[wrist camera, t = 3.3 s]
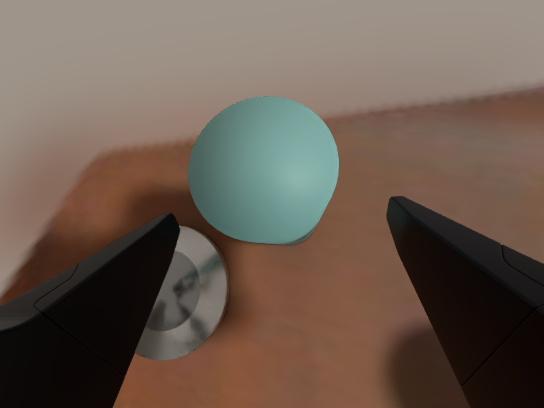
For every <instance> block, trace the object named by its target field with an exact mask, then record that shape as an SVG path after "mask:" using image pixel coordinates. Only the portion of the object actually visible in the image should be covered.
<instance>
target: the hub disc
mask: <svg viewBox="0 0 544 408" xmlns="http://www.w3.org/2000/svg"><path fill="white" fill-rule="evenodd" d="M179 227H180V234H179V238H178V241H177V245H176V248H175V252H174V255H173V259H172V262H171V264H170V267H169V270H168V272H167V275H166V277H165V279H164V282H163V284H162V287H161V289H160V292H159V294H158V297H157V299H156V302H155V304H154V307H153V309H152V312H151V314H150V316H149V319H148V321H147V324H146V326H145V329H144V331H143V334H142V336H141V339H140V341H139V344H138V346H137V348H136V351H135V353H136V354H138V355H140V356H142V357H145V358H148V359H152V360H161V361H162V360H172V359H176V358H180V357H182V356H184V355H187V354H189V353H190V352H192V351H194V350H195V349H196V348H198V347H199V346H200V345H201V344H202V343H203V342H205V341H206V340H207V339H208V338H209V337H210V336H211V335H212V334H213V332H214V331H215V330H216V328H217V327H218V326H219V324H220V322H221V320H222V319H223V316H224V314H225V311H226V309H227V305H228V301H229V295H230V276H229V271H228V267H227V264H226V261H225V258H224V256H223V254H222V252H221V251H220V249H219V248H218V246H217V245H216V244H215V243H214V242H213V241H212V240H211V239H210V238H209V237H208V236H207V235H205V234H203V233H202V232H200V231H198V230H196V229H193V228H190V227H186V226H180V225H179Z"/></svg>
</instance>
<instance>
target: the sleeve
mask: <svg viewBox="0 0 544 408" xmlns="http://www.w3.org/2000/svg"><path fill="white" fill-rule="evenodd" d="M338 170H339V160H338V152H337V147H336V144H335V141H334V138H333V136H332V134H331V132H330V131H329V129H328V127H327V126H326V125H325V123H324V122H323V121H322V120H321V119H320V118H319V117H318V115H317V114H315V113H314V112H313V111H311V110H310V109H309V108H307V107H305V106H304V105H302V104H300V103H297V102H294V101H293V100H289V99H285V98H280V97H268V96H264V97H256V98H250V99H246V100H244V101H240V102H238V103H236V104H233V105H231V106H229V107H228V108H226V109H224V110H223V111H221V112H220V113H219V114H218V115H216V116H215V117H214V118H213V119H212V120H211V121H210V122H209V123H208V124H207V125H206V126H205V128H204V129H203V130H202V132H201V133H200V135H199V136H198V138H197V140H196V142H195V144H194V146H193V149H192V152H191V155H190V160H189V167H188V181H189V187H190V192H191V195H192V198H193V201H194V203H195V205H196V207H197V209H198V210H199V212H200V213H201V215H202V216H203V217H204V218H205V219H206V220H207V221H208V223H209V224H211V225H212V226H213V227H214V228H216V229H217V230H219V231H220V232H222V233H223V234H225V235H227V236H230V237H232V238H235V239H238V240H242V241H248V242H256V243H267V244H278V245H296V244H299V243H302V242H304V241H305V240H306V239H308V238H309V237H310V236H311V234H312V233H313V231H314V229H315V227H316V225H317V224H318V222H319V220H320V218H321V216H322V214H323V212H324V210H325V208H326V206H327V204H328V202H329V201H330V199H331V197H332V194H333V192H334V189H335V187H336V182H337V178H338Z"/></svg>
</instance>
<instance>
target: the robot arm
mask: <svg viewBox="0 0 544 408" xmlns="http://www.w3.org/2000/svg"><path fill="white" fill-rule="evenodd" d="M386 216H387V221H388V224H389V228H390V231H391V234H392V237H393V240H394V243H395V246H396V249H397V252H398V254H399V256H400V259H401V261H402V263H403V265H404V267H405V269H406V271H407V274H408V276H409V278H410V280H411V282H412V284H413V286H414V288H415V291H416V293H417V295H418V297H419V299H420V301H421V303H422V305H423V307H424V310H425V312H426V314H427V316H428V318H429V320H430V322H431V324H432V327H433V329H434V331H435V333H436V335H437V337H438V339H439V341H440V344H441V346H442V348H443V350H444V352H445V354H446V356H447V358H448V360H449V363H450V365H451V367H452V369H453V371H454V373H455V375H456V377H457V380H458V382H459V384H460V386H462V391H463V393H464V395H465V397H466V399H467V401H468V403H469V405H470V408H544V264H543V263H541V262H539V261H536V260H534V259H532V258H530V257H528V256H526V255H524V254H521V253H519V252H517V251H515V250H513V249H511V248H509V247H507V246H505V245H501V244H500V243H499V242H496V241H494V240H492V239H490V238H488V237H486V236H484V235H482V234H480V233H478V232H476V231H474V230H472V229H470V228H467V227H465V226H463V225H461V224H459V223H457V222H455V221H453V220H451V219H449V218H447V217H445V216H443V215H441V214H438V213H436V212H434V211H432V210H430V209H428V208H426V207H424V206H422V205H420V204H418V203H416V202H414V201H412V200H409V199H407V198H405V197H403V196H395V197H391V198H390V199H389V203H388V209H387V214H386ZM179 234H180V227H179V224H178V222H177V220H176V218H175V216H174V215H173V214H172V213H163V214H161V215H159V216H157V217H156V218H154V219H152V220H150V221H149V222H147V223H145V224H144V225H142V226H140V227H139V228H137V229H135V230H133V231H132V232H130V233H128V234H127V235H125V236H123V237H122V238H120V239H118V240H116V241H115V242H113V243H111V244H110V245H108V246H106V247H105V248H103V249H101V250H100V251H98V252H96V253H94V254H93V255H91V256H89V257H88V258H86V259H84V260H83V261H81V262H80V263H77V264H76V265H74V266H72V267H71V268H69V269H67V270H65V271H64V272H62V273H60V274H58V275H57V276H55V277H53V278H52V279H50V280H48V281H46V282H44V283H42V284H41V285H39V286H37V287H35V288H33V289H31V290H30V291H28V292H26V293H24V294H22V295H20V296H18V297H17V298H15V299H13V300H11V301H9V302H7V303H5V304H4V305H2V306H0V408H113V405H114V403H115V401H116V398H117V396H118V393H119V391H120V388H121V386H122V383H123V381H124V378H125V375H126V373H127V371H128V368H129V366H130V363H131V361H132V358H133V356H134V353H135V351H136V348H137V346H138V344H139V341H140V339H141V336H142V334H143V331H144V329H145V326H146V324H147V321H148V319H149V316H150V314H151V312H152V309H153V307H154V304H155V302H156V299H157V297H158V294H159V292H160V289H161V287H162V284H163V282H164V279H165V277H166V275H167V272H168V270H169V267H170V264H171V262H172V259H173V255H174V252H175V248H176V245H177V241H178V238H179Z"/></svg>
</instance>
